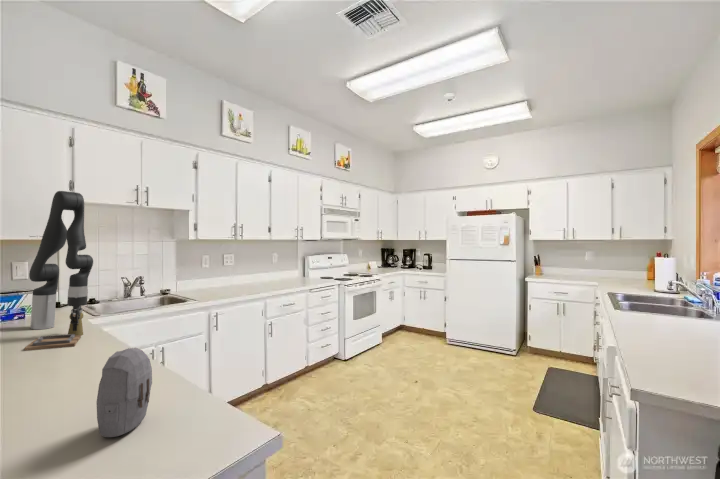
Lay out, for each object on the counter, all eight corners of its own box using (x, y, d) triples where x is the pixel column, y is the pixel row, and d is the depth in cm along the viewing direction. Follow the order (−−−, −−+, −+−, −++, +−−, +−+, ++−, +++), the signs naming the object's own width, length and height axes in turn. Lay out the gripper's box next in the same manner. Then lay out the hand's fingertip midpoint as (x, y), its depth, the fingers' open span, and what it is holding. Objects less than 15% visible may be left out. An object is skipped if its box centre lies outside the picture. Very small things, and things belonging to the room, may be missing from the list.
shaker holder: (35, 341, 156) (36, 335, 156) (80, 337, 164) (81, 332, 164) (24, 350, 142) (25, 344, 143) (74, 346, 151) (74, 340, 151)
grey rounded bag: (127, 414, 94) (131, 340, 94) (159, 414, 94) (163, 340, 95) (88, 445, 79) (93, 357, 79) (126, 445, 79) (131, 358, 80)
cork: (76, 337, 165) (77, 313, 165) (63, 336, 165) (65, 313, 165) (86, 333, 171) (87, 311, 171) (74, 333, 171) (75, 311, 171)
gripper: (70, 293, 173) (68, 328, 172) (64, 297, 161) (62, 335, 160) (89, 293, 177) (87, 327, 176) (85, 297, 164) (82, 333, 164)
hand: (75, 330), depth 168 cm, fingers closed on cork, 3 cm apart
